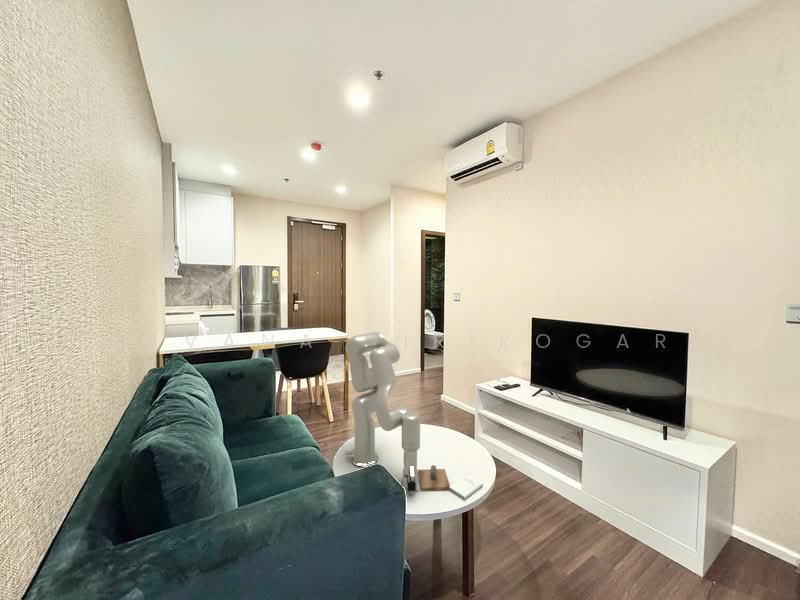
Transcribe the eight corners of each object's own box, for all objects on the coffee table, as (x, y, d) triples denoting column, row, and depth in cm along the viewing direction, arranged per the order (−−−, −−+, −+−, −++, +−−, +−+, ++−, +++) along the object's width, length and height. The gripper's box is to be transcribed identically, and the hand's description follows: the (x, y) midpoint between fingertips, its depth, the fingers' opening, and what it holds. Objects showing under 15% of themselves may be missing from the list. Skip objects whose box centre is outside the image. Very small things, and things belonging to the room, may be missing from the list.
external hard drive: (448, 490, 133) (466, 477, 141) (464, 500, 127) (482, 486, 135) (448, 486, 133) (466, 473, 141) (464, 496, 127) (482, 482, 135)
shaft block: (420, 491, 132) (421, 476, 131) (417, 472, 144) (417, 458, 143) (450, 490, 133) (450, 475, 132) (444, 472, 145) (444, 458, 144)
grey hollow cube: (403, 491, 132) (403, 477, 131) (402, 482, 138) (402, 468, 137) (418, 491, 132) (418, 477, 131) (416, 481, 138) (417, 468, 137)
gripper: (400, 432, 141) (400, 470, 143) (402, 455, 124) (402, 497, 126) (417, 432, 142) (417, 469, 143) (422, 454, 125) (422, 496, 126)
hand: (410, 482), depth 135 cm, fingers open, 9 cm apart
